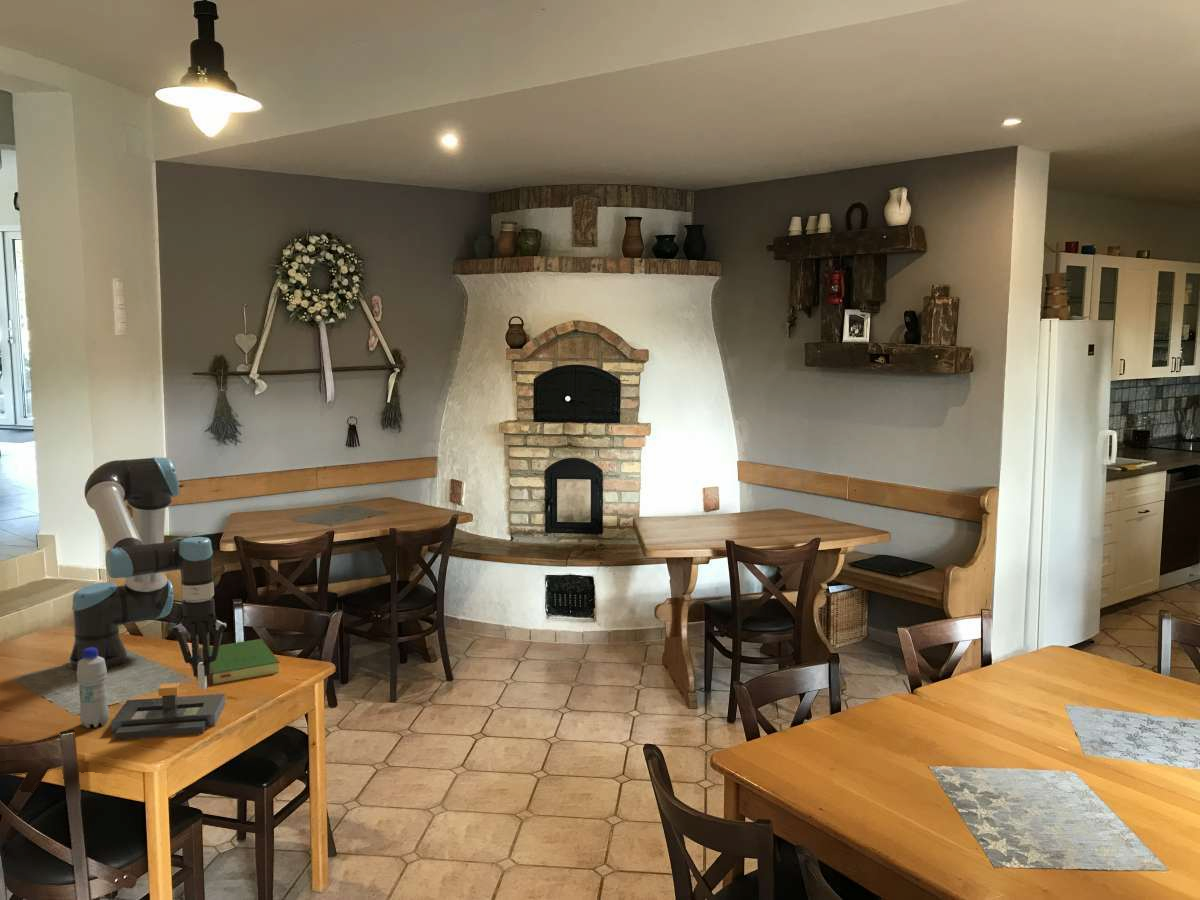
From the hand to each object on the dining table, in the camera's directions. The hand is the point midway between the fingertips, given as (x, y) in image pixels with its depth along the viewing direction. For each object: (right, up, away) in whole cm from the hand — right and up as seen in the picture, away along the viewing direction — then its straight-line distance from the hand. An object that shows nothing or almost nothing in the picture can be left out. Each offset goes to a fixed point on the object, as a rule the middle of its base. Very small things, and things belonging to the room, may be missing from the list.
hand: (202, 688), depth 241 cm
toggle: (-8, -6, -1) cm, 10 cm away
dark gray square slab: (-8, -8, 0) cm, 11 cm away
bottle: (-25, -8, -4) cm, 27 cm away
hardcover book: (-6, -4, +38) cm, 38 cm away
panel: (-8, -8, 0) cm, 11 cm away
